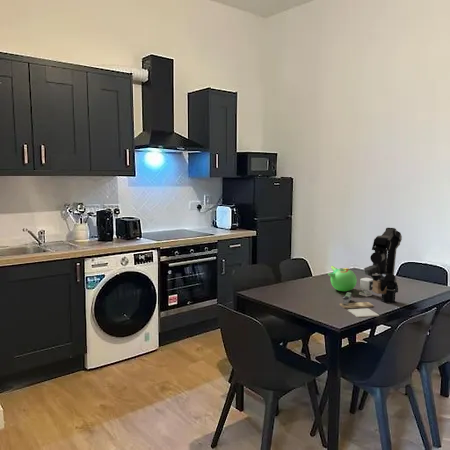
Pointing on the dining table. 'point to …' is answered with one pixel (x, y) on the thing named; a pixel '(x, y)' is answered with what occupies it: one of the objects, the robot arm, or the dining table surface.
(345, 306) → the plane block
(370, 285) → the security camera
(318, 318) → the dining table surface
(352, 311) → the trivet
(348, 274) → the toy bird
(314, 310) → the dining table surface
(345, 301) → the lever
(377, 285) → the cap block
